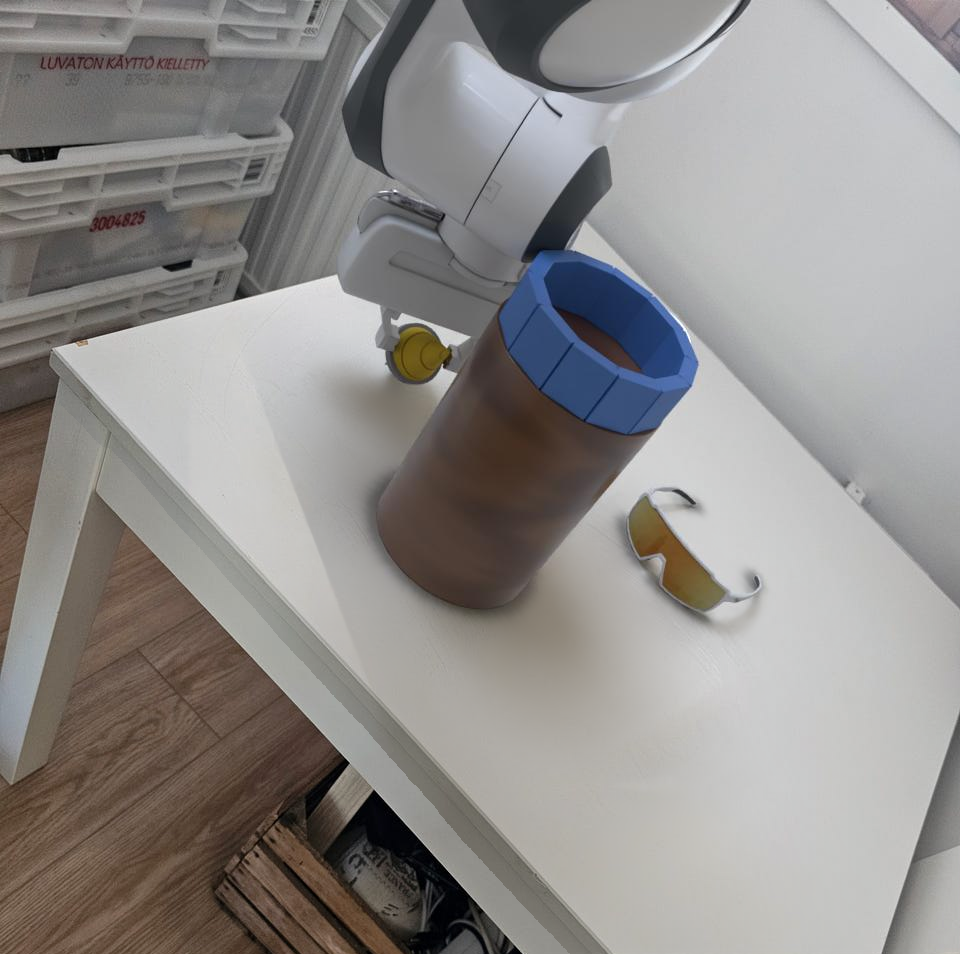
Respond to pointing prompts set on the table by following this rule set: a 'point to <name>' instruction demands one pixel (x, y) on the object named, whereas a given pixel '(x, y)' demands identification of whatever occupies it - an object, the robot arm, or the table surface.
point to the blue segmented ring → (579, 368)
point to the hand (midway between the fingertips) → (417, 356)
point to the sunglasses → (676, 556)
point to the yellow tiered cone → (416, 354)
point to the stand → (499, 476)
